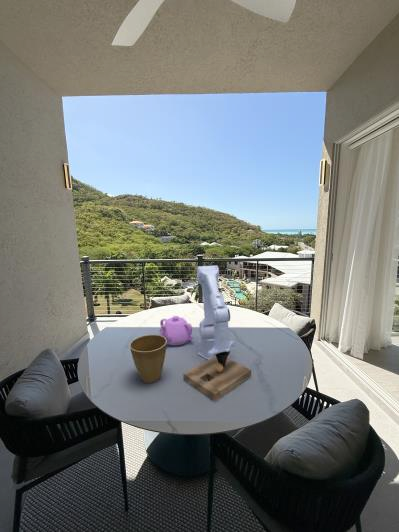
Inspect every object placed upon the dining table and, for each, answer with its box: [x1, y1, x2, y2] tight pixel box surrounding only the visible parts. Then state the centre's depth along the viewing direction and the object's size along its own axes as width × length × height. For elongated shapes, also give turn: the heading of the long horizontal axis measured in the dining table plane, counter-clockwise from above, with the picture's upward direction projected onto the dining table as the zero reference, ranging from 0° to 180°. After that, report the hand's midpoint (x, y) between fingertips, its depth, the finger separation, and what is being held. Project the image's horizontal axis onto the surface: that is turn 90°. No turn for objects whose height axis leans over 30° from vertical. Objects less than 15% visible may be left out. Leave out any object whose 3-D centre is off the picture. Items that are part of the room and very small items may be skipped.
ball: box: [215, 363, 223, 372], centre depth 106 cm, size 4×4×4 cm
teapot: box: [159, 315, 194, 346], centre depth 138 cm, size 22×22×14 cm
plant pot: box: [129, 334, 168, 384], centre depth 106 cm, size 15×15×16 cm
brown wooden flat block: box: [182, 356, 252, 402], centre depth 106 cm, size 18×22×3 cm
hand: (221, 367), depth 107 cm, fingers closed, pressing on ball
